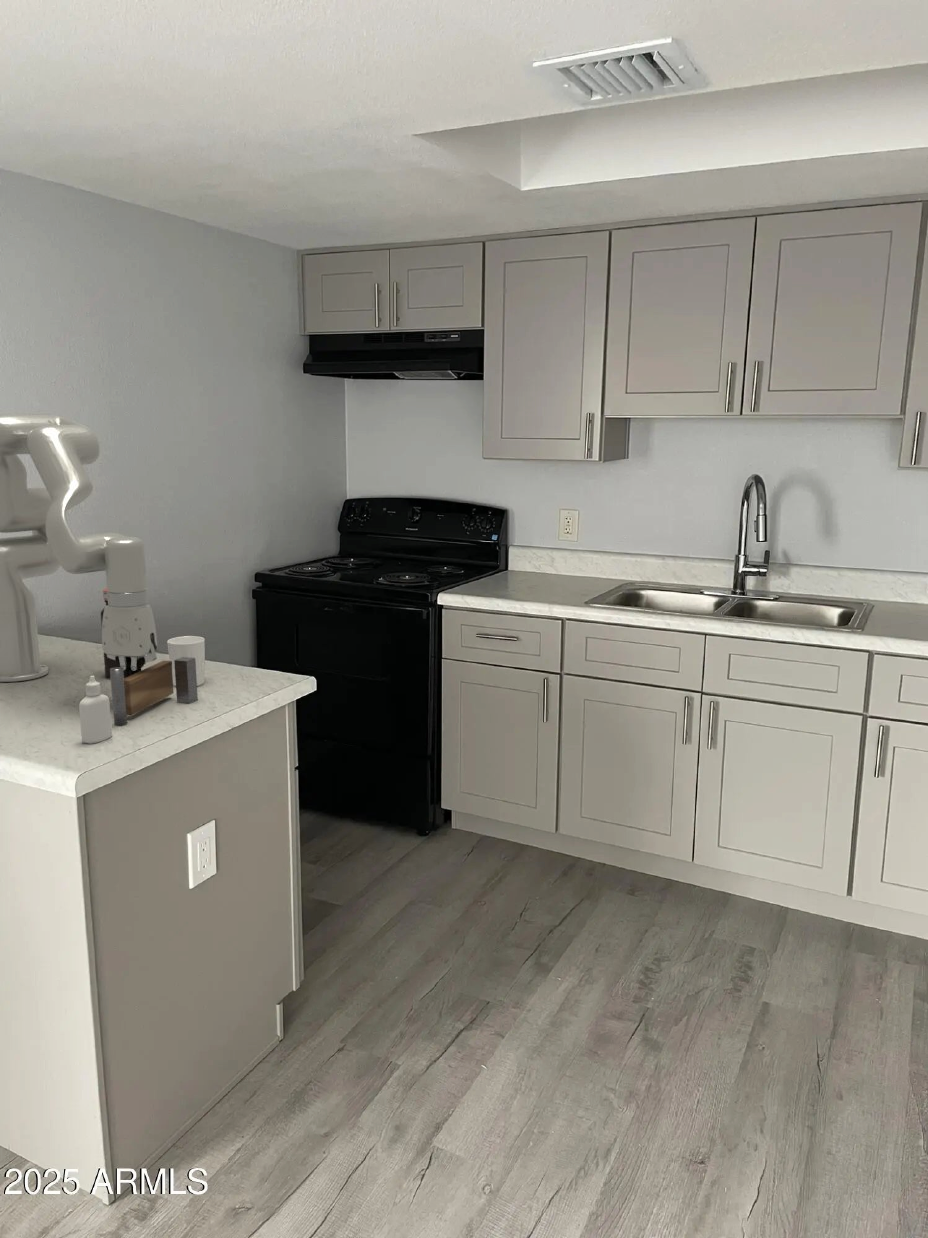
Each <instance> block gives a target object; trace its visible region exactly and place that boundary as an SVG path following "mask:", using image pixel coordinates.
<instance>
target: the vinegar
mask: <svg viewBox="0 0 928 1238" xmlns="http://www.w3.org/2000/svg"><path fill="white" fill-rule="evenodd" d="M102 591H103V592H102V593H103V594H104V592H107V588H106V589H105V588H104V589H103V590H102ZM103 600H104V603H105V606H107V605H108V599H104V598H103ZM105 606H104V607H103V609H102V610H100V621H101V626H102V621H103V613H104V608H105ZM103 661H104V675H105V677H107V678H108V679H111V677H110V669H111V668H114V667H121V666H120V664H119V663H118V662H117V661H116V660H113V659H110V658H108V657H107V654H106V653H104V652H103ZM123 672H124V670H123Z"/></svg>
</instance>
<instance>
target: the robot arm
mask: <svg viewBox="0 0 928 1238" xmlns="http://www.w3.org/2000/svg"><path fill="white" fill-rule="evenodd" d="M100 447H101V446H100V443H99V441H98V438H97V435H96V434H95V432H94V431H93V430H92V429H91V428H90V427H89V426H87V425H85V424H83V423H80V422H78V421H75V420H72V419H69V418H66V417H64V416H61V415H57V414H50V413H49V414H45V413H44V414H42V413H41V414H40V413H39V414H34V413H33V414H30V413H29V414H27V413H2V414H0V533H6V534H7V533H21V532H30V531H32V535H24V536H10V537H3V538H2V537H1V538H0V682H1V683H2V682H4V683H11V682H13V683H14V682H23V681H29V680H34V679H39V678H41V677H44V676H45V675H48V673H49V666H47V665H45V664H41V655H40V644H39V643H40V642H39V635H38V633H39V631H38V622H37V614H36V613H37V611H36V602H35V598H34V594H33V593H32V591H31V590H30V589H29V587H27V585H26V584H25V583H24V582H23V580H24V579H30V578H31V579H32V578H35V577H37V578H38V577H43V576H50V575H53V574H54V573H57V571H58V570H60V569H59V568H60V567H61V568H62V569H63V570H64V571H66V572H67V573H69V574H73V575H82V574H89V573H96V572H105V579H106V582H105V583H106V589H107V592H104V594H103V595H102V597H103V600H104V599H108V605H107V606H106V605H105V606H104V607H105V608H104V607H103V609H104V613H103V621H102V625H101V645H102V651H103V654H104V653H106V654H107V657H108V658H110V659H113V660H116V661H117V662H118V663H119V664H120V666H121V667H122V668H123V670H124V678H126V677H129V676H131V675H133V674H135V673H137V672H139V671H142V668H143V667H144V665H146V663H150V662H154V661H156V660H157V653H156V651H157V649H158V637H157V628H156V622H155V618H154V614H153V610H152V607H151V605H150V604H149V602H148V601H149V600H148V585H147V570H146V568H147V567H146V555H145V553H146V552H145V544H144V541H143V540H142V539H141V538H139V537H136V536H126V535H124V534H121V533H117V532H104V533H93V534H92V533H91V534H84V535H76V536H75V535H74V534H73V531H72V528H70V525H69V522H68V520H67V512H68V511H69V510H71V509H72V508H73V509H74V508H75V507H76V506H78V505H80V504H81V503H83V502H84V501H86V500H87V499H88V498H89V497H90V495H91V494H92V492H93V489H94V488H93V487H94V485H93V483H92V480H91V479H90V477H89V475H88V473H87V471H86V470H85V469H86V468H85V467H84V465H85V466H86V465H92V464H94V463H95V462H96V461H97V459H98V458H99V456H100V450H101V449H100ZM18 455H29V456H30V458H31V460H32V462H33V464H34V465H35V466H34V467H35V468H36V470H37V473H38V475H39V477H40V478H41V481H42V483H43V484H44V486H45V488H44V487H28V474H27V469H26V466H25V463H23V461H22V460H21V458H20V457H19V456H18Z"/></svg>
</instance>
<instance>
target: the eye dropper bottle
mask: <svg viewBox="0 0 928 1238" xmlns="http://www.w3.org/2000/svg"><path fill="white" fill-rule="evenodd" d="M85 693H86V696H85V697H83V699H81V700H80V702H79V706H78V708H79V709H78V710H79V723H80V733H81V734H80V735H81V742H83V743H84V744H97V743H101V742H104V741H105V740H108V739H109V738H111V737H112V735H113V729H112V728H113V727H112V717H111V716H112V715H111V714H112V713H111V704H110V698H109V697H108V696H107V695H105V694H103V693H102V692H101V683H100V682H99V681H96V679H95V675H90V676H89V681H88V682H87V683H86V684H85ZM101 693H102V694H101Z"/></svg>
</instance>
